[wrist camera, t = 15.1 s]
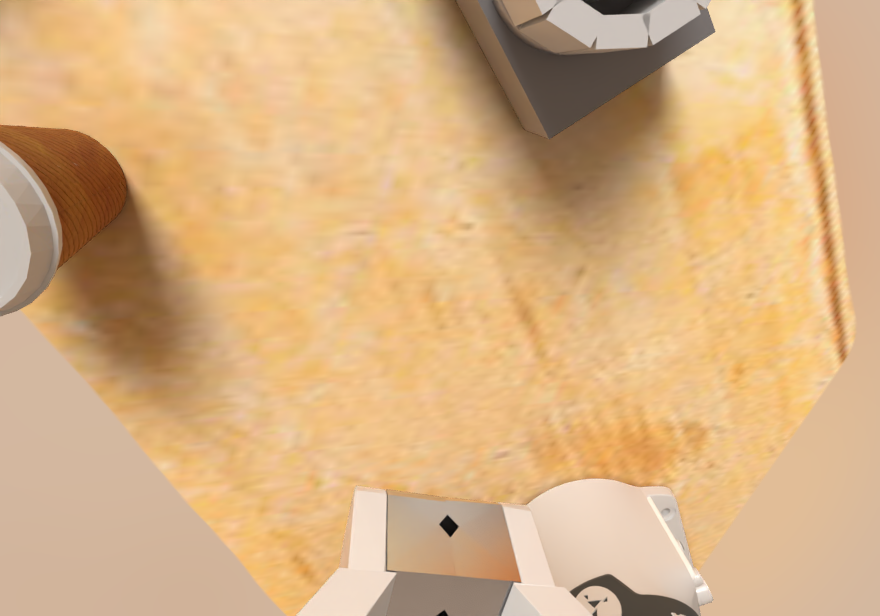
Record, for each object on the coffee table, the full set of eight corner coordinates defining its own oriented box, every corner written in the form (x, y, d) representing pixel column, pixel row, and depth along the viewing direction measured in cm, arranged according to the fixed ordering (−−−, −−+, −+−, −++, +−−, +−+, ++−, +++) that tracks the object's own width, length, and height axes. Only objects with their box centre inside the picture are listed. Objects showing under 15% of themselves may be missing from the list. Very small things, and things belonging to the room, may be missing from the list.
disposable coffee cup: (184, 210, 35) (90, 270, 24) (68, 276, 36) (-73, 362, 25) (81, 70, 31) (-87, 65, 20) (-45, 147, 32) (-269, 183, 21)
